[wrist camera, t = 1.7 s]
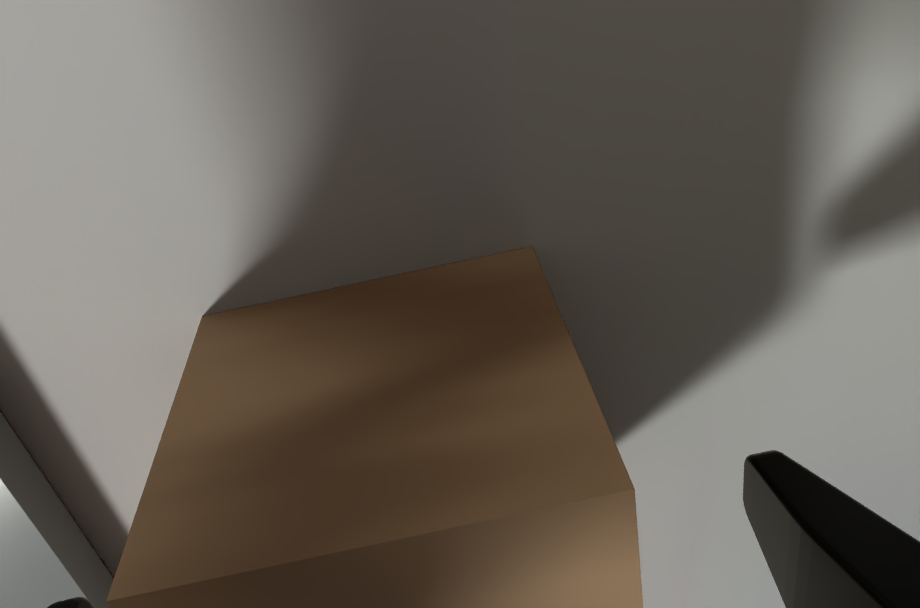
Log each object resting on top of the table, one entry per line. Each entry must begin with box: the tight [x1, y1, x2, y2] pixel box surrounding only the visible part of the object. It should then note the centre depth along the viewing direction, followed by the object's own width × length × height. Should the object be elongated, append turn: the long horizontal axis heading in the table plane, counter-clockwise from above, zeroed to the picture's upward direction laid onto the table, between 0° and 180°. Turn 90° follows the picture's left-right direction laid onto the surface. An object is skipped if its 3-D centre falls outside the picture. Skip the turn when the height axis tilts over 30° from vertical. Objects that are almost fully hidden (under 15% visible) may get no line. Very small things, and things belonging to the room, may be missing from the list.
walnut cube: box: [106, 246, 643, 608], centre depth 10 cm, size 5×5×5 cm
